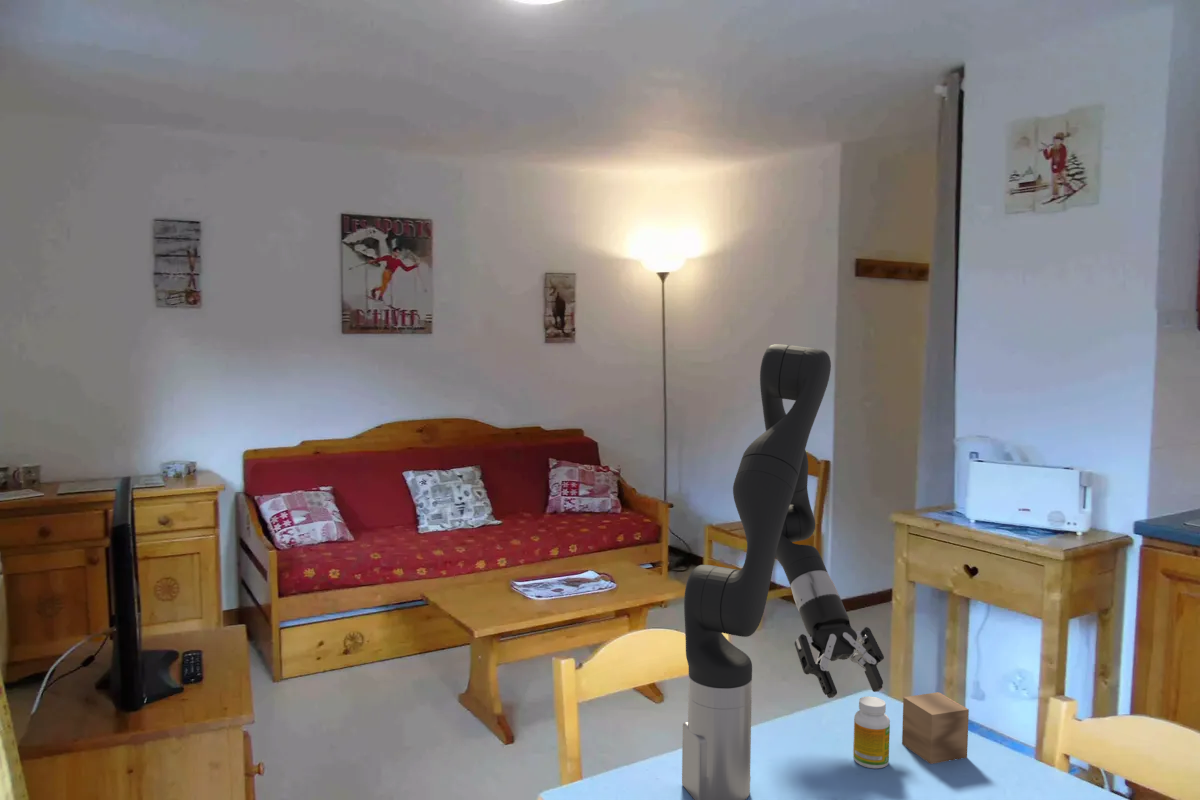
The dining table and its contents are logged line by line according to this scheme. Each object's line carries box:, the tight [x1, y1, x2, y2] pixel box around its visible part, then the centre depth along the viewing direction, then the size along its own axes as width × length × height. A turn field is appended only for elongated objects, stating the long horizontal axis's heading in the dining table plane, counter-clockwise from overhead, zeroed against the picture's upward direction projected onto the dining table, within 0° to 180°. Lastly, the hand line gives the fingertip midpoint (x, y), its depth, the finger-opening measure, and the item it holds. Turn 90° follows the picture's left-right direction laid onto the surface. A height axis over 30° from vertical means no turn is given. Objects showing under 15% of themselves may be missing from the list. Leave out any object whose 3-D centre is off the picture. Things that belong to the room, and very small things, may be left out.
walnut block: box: [901, 691, 970, 765], centre depth 137 cm, size 7×7×8 cm
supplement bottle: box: [852, 696, 891, 769], centre depth 133 cm, size 5×5×10 cm
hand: (856, 692), depth 137 cm, fingers open, 8 cm apart
